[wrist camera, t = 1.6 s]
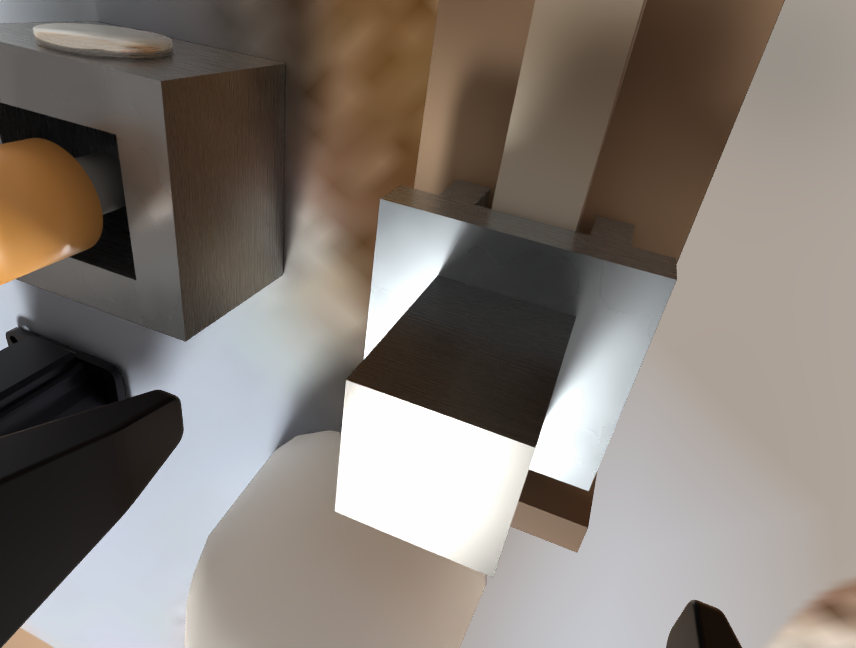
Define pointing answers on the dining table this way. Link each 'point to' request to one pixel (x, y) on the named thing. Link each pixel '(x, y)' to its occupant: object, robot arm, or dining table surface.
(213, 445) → the dining table surface
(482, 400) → the carriage
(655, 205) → the rail
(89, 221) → the button
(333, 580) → the teardrop
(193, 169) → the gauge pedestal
